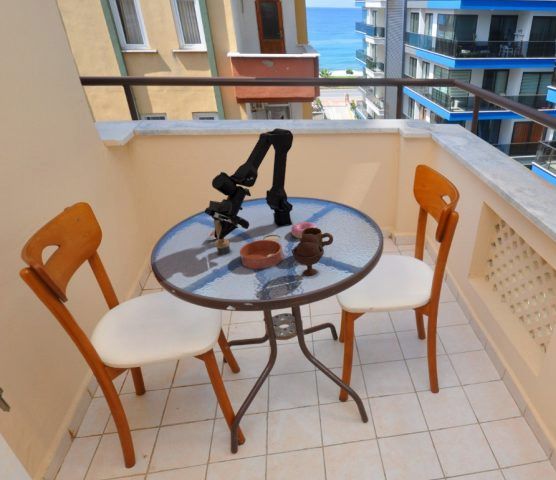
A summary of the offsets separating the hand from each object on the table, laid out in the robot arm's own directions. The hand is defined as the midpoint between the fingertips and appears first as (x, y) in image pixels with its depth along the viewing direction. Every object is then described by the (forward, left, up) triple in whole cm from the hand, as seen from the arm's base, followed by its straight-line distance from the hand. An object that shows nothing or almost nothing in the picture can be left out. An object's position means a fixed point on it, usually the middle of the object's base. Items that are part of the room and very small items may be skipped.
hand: (217, 238), depth 156 cm
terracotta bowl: (-14, +10, -7) cm, 19 cm away
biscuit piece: (-18, +12, -6) cm, 22 cm away
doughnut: (-34, -5, -7) cm, 35 cm away
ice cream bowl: (-28, +27, -7) cm, 40 cm away
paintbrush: (-2, -20, -7) cm, 21 cm away
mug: (-35, +14, -7) cm, 39 cm away
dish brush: (-1, -1, -7) cm, 7 cm away
